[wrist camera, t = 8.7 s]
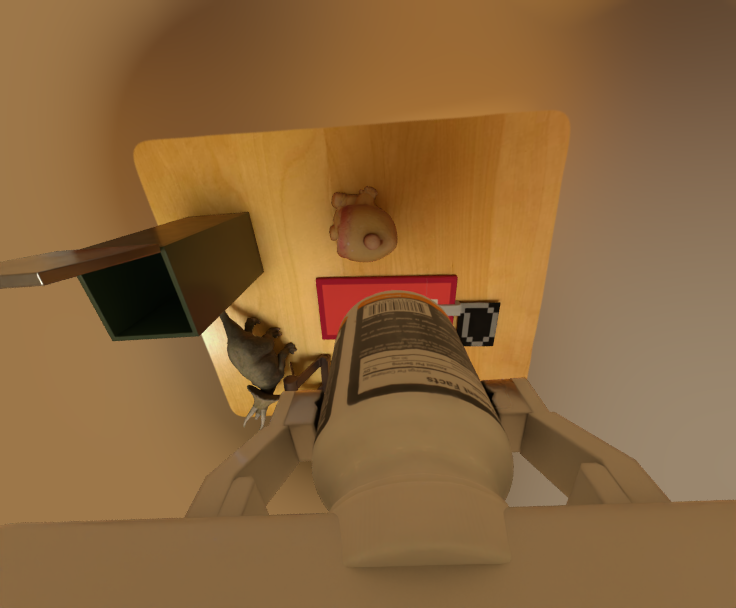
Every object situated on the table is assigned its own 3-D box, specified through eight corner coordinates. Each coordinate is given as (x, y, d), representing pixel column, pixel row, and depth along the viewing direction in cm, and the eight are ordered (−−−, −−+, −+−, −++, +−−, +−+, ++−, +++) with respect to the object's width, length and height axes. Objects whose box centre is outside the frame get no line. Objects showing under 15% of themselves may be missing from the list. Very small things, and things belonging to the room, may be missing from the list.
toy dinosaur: (221, 288, 49) (182, 321, 39) (268, 278, 48) (240, 309, 38) (269, 386, 59) (247, 433, 49) (309, 380, 58) (295, 426, 48)
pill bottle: (403, 396, 16) (438, 677, 8) (316, 346, 15) (232, 621, 6) (476, 326, 14) (644, 605, 5) (383, 260, 13) (403, 492, 4)
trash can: (263, 271, 48) (198, 336, 30) (207, 275, 48) (112, 341, 31) (248, 211, 44) (163, 246, 26) (187, 216, 44) (64, 254, 27)
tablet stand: (332, 390, 59) (325, 424, 51) (293, 389, 59) (280, 422, 51) (330, 354, 55) (323, 384, 47) (288, 352, 55) (274, 383, 47)
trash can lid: (43, 286, 17) (36, 272, 16) (-107, 296, 17) (-116, 283, 17) (161, 252, 26) (158, 243, 26) (61, 259, 26) (57, 250, 26)
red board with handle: (489, 351, 53) (503, 273, 47) (495, 361, 51) (510, 279, 44) (325, 352, 55) (317, 276, 48) (323, 361, 52) (313, 282, 46)
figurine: (328, 180, 41) (343, 193, 28) (379, 185, 43) (415, 200, 30) (326, 248, 46) (337, 287, 33) (372, 250, 47) (400, 287, 35)
